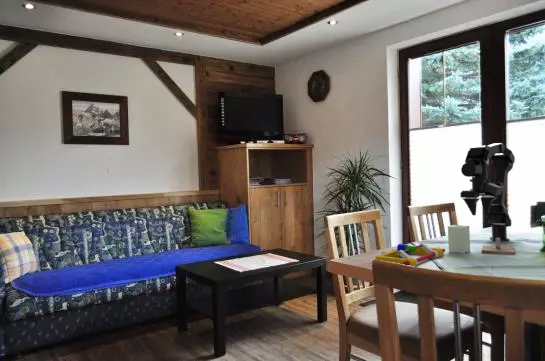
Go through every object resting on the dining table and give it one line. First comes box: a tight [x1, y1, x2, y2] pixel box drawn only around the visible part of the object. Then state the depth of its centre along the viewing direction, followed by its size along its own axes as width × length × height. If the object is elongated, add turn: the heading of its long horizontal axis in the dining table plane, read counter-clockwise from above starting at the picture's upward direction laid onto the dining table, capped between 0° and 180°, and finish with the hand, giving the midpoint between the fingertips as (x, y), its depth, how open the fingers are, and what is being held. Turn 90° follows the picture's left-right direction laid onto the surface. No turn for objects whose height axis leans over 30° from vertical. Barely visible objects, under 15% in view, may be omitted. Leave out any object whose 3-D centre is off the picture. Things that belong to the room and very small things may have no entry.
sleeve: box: [447, 224, 471, 254], centre depth 164 cm, size 5×6×10 cm
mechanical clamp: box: [375, 242, 446, 267], centre depth 156 cm, size 18×6×30 cm
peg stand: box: [481, 238, 516, 256], centre depth 162 cm, size 11×11×5 cm
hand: (480, 214), depth 173 cm, fingers open, 9 cm apart
